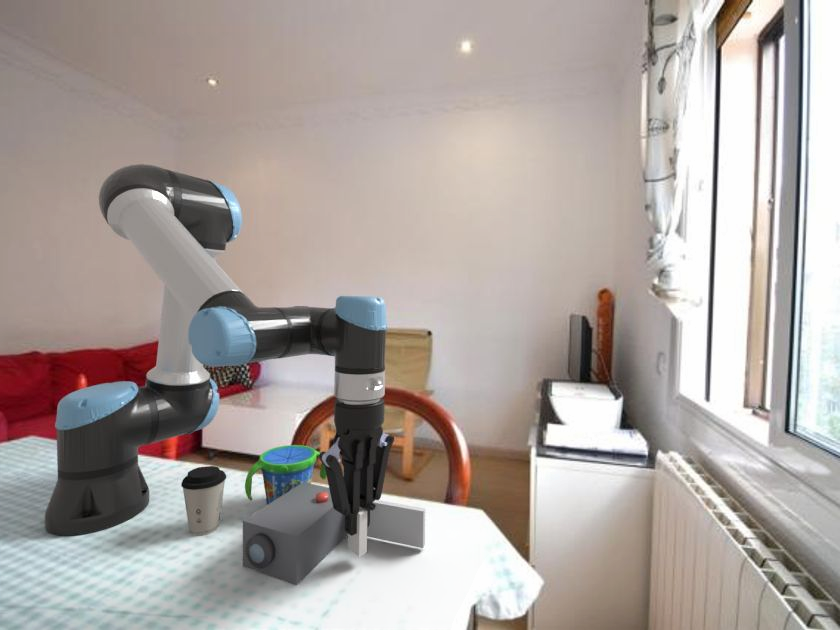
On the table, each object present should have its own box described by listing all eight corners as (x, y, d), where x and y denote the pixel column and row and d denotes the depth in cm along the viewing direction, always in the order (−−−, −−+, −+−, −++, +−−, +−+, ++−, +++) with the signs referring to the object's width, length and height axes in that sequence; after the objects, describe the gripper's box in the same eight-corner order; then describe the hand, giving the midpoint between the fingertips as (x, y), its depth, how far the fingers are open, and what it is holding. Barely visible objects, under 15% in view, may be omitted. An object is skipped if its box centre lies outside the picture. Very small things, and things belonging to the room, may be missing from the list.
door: (422, 548, 64) (423, 511, 64) (349, 533, 68) (349, 498, 68) (425, 542, 65) (426, 506, 65) (353, 527, 69) (354, 493, 69)
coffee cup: (235, 521, 72) (235, 466, 72) (203, 543, 65) (203, 483, 65) (205, 514, 74) (204, 461, 74) (171, 535, 68) (170, 477, 67)
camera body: (235, 572, 59) (235, 520, 58) (303, 519, 73) (303, 477, 73) (290, 591, 55) (290, 536, 55) (350, 532, 69) (350, 488, 69)
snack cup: (318, 485, 87) (318, 438, 86) (336, 506, 78) (336, 454, 77) (240, 504, 78) (240, 453, 78) (250, 530, 69) (250, 472, 69)
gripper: (339, 411, 53) (336, 584, 54) (407, 395, 63) (404, 542, 64) (308, 401, 58) (306, 559, 59) (375, 387, 68) (373, 524, 69)
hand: (357, 550), depth 61 cm, fingers closed
